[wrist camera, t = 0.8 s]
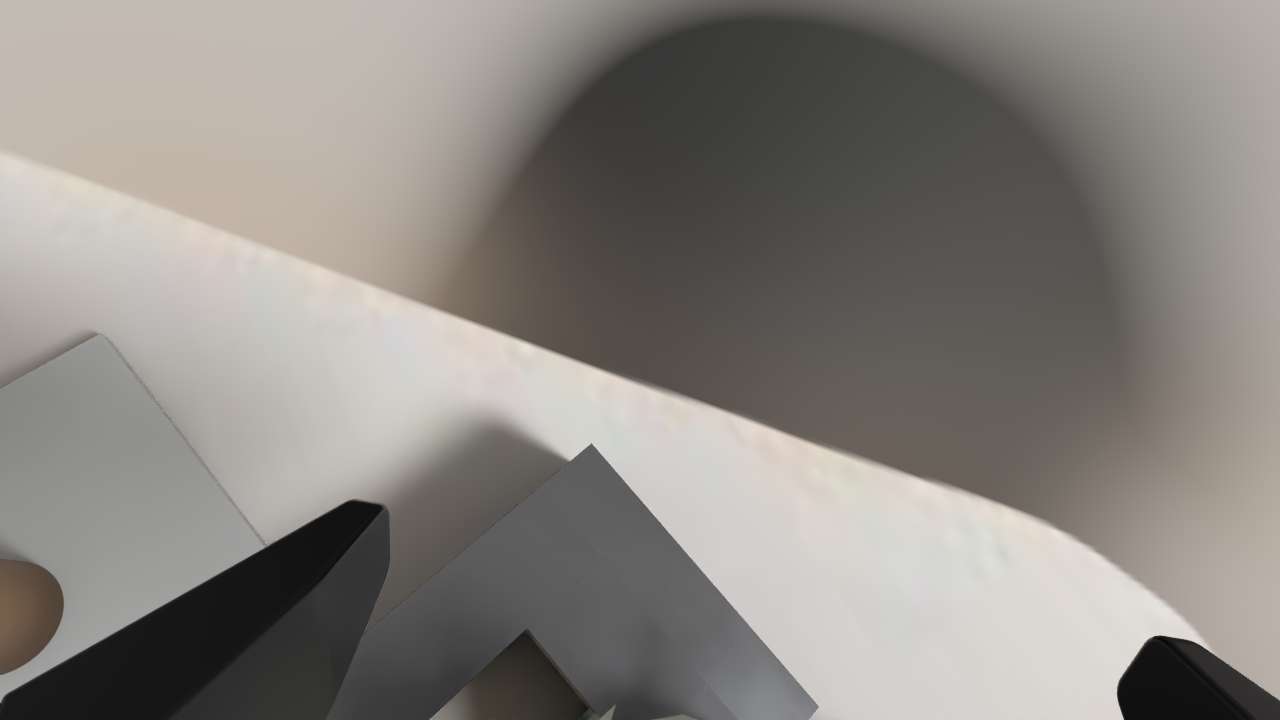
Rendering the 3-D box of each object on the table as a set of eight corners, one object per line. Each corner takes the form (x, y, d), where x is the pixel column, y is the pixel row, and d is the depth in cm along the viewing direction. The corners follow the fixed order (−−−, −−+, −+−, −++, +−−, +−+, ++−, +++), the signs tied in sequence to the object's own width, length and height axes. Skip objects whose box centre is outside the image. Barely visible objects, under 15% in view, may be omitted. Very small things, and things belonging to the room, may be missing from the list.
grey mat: (-125, 1003, 16) (-143, 1015, 16) (-366, 603, 17) (-389, 603, 17) (331, 630, 21) (328, 630, 20) (108, 338, 22) (100, 332, 22)
